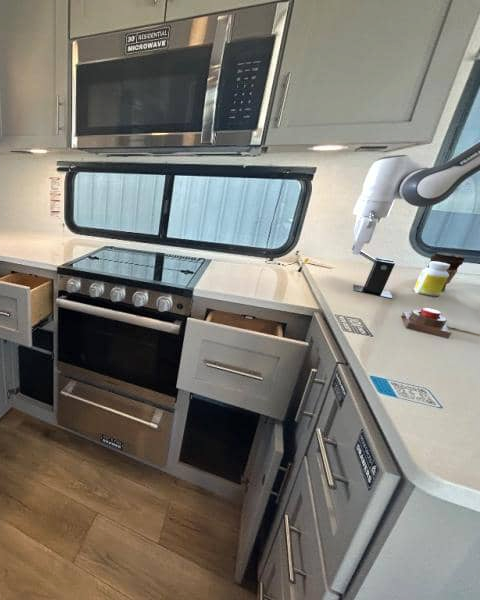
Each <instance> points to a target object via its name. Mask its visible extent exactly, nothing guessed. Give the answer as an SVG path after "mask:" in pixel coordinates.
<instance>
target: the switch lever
mask: <svg viewBox="0 0 480 600" xmlns="http://www.w3.org/2000/svg"><path fill="white" fill-rule="evenodd" d="M352 248H353V247H352ZM353 249H354V248H353ZM359 255H360V256H362V257H364V258H365V259H367V260H369V261H370V262H372V263H373V264H374V263H375V264H376V261H377V260H376V258H375V257H373V256H371V255H370V254H368V253H366V252H364V251H363V250H361V251H360V254H359ZM381 261H383V260H381Z"/></svg>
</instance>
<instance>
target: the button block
mask: <svg viewBox="0 0 480 600" xmlns="http://www.w3.org/2000/svg"><path fill="white" fill-rule="evenodd" d="M421 310H422V309H421ZM421 310H420V309H413V310H412V311H411V312H409V311H403V312H402V315H400V316H401V319H402V323H403V324H404V327H405V329H406V330H407V329H408V330H411V331H414V332H419V333H423V334H427V335H432V336H435V337H440V338H443V339H449V338H450V336H452V331H451V330H450V329H449V327H448V325H447V324H446V323H447V321H448V320H447V318H446V317H445V316H442V315H440V316H439V318H438V319H434V318H429V317H426V316H423V315H421V314H420V312H421Z"/></svg>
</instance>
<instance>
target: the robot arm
mask: <svg viewBox="0 0 480 600" xmlns="http://www.w3.org/2000/svg"><path fill="white" fill-rule="evenodd" d="M478 172H480V140H478V141H477V142H475V143H473V144H472V145H470V146H469V147H468V148H466V149H464V150H463V151H462V152H460V153H458V154H456V155H455V156H453V157H452V158H450V159H449V160H447V161H445V162H443V163H442V164H439V165H436V166H432V167H427V166H425V165H423V164H420V163H418V162H417V161H415V160H414V159H412V158H411V157H410V156H409V155H407V154H397V155H389V156H383V157H380V158H378V159H376V160H374V162H373V163H372V165H371V167H370V168H369V170H368V172H367V174H366V177H365V179H364V182H363V184H362V191H361V194H359V197H358V198H357V201H356V203H355V206H354V208H353V212H352V214H353V215H356V217H355V220H356V221H355V225H354V229H353V238H354V241H353V245H352V248H351V250H352V255H357V256H359V255H360V251H362V249H363V247H364V245H365V244H366V245H367V244H370V242H371V240H372V239H373V235H374V233H375V231H376V229H377V225H378V223H381V221H382V219H386V218H388V217H389V215H390V212H391V210H392V207H393V206H394V202H395V201H396V200H397V199H399V200H403V201H405V202H406V203H407V204H409V205H411V206H414V207H419V208H420V207H421V208H426V207H432V206H435V205H438V204H440V203H442V202H444V201H445V200H447V199H448V198H449V197H450V196H451V195H452V194H454V192H455V191H456V190H457V189H458V188H459V186H461V184H463V183H464V182H465V181H466V180H467V179H469V178H470V177H472V176H474V175H475V174H477V173H478ZM353 248H354V249H353Z"/></svg>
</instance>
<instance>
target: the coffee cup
mask: <svg viewBox="0 0 480 600" xmlns="http://www.w3.org/2000/svg"><path fill="white" fill-rule="evenodd" d="M431 261H436V262H442V263H447V264H450V266H449V268H448V269H447V270H446V272H448V273H449V277H448V279H447V281H446V283H445V285H444V287H443V289H442V290H441V292H445V291H446V287H447V284H450V283H451V281H452V280H453V278H454V277H455V276H456V274H457V273H458V269H459V267H460V266H462V265H463V263H464V262H465V256H463V255H461V254H453V253H447V252H436V253H434V254H433V255H431V256H430V261H429V263H430V262H431ZM429 263H428V265H427V268H429Z"/></svg>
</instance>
